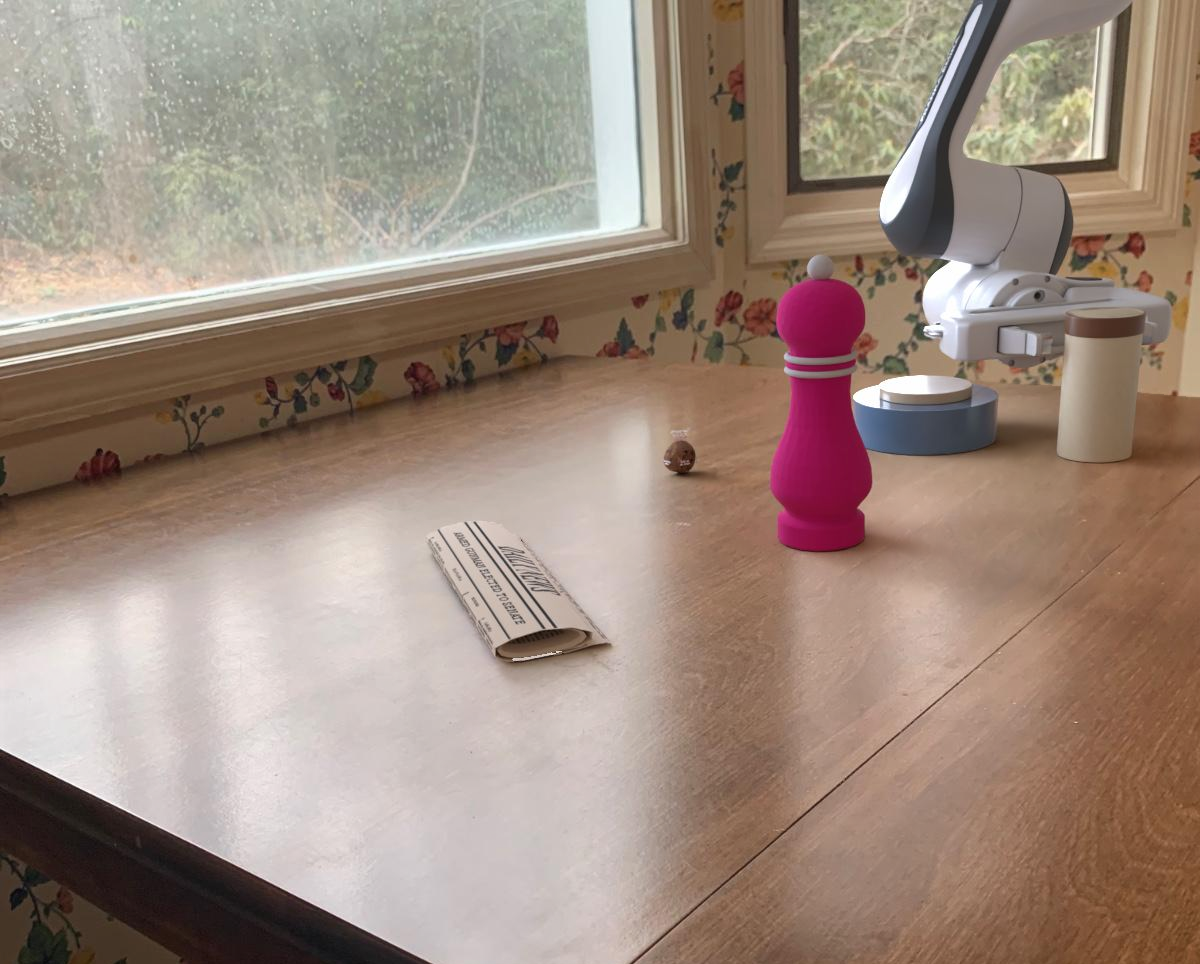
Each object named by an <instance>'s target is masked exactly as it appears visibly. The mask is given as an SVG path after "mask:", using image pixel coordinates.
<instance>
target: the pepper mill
mask: <svg viewBox="0 0 1200 964" xmlns="http://www.w3.org/2000/svg"><path fill="white" fill-rule="evenodd" d="M834 270H835V265H834V261H833V260H832V259H831V258H830V257H829V256H828V255H825V254H816V255H815V256H813V257H812V258H810V260H809V262H808V263H807V267H806V272H807V275H808V276H809V279H806V280H803V281H800V282H798V283H796V284H795V285H793V286H792V287H790V288H789V289H788V290H787V291H786V292H785V293H784V294H783V295H782V297H781V300H780V301H779V303H778V306H777V310H776V317H775V318H776V319H775V321H776V322H775V324H776V331H777V333H778V335H779V337H780V339H781V340H782V341H783V342H784V343H785V344H786V345H787V347H788V351H786V352H785V353H784V354H783V359H784V360H785V366H784V368H783V371H784V373H785V375H786V376H789V380H790V402H789V403H790V404H789V411H788V415H787V416H788V417H787V419H786V420H787V421H786V424H785V427H784V430H783V432H782V436H781V438H780V440H779V443H778V445H777V448H776V450H775V452H774V455H773V459H772V463H771V467H770V479H769V489H770V491H771V495H773V498H775V499H776V501H777V502H779V504H780V505H781V506H782V507H783V508H784V509H782V510H781V511H780V512H779V513H778V515H777V518H776V520H777V523H776V524H777V525H776V526H777V539H778V541H779V542H780V543H781V544H783V545H784V546H786V547H788V548H792V549H796V550H800V551H808V552H809V551H810V552H830V551H839V550H844V549H845V550H846V549H849V548H851V547H854V546H857V545H859V544H860V543H862V542H863V540H864V539H865V535H866V516H865V515H866V514H865V513H864V512H863V510H861V509H859V508H858V507H859V506H860V505H861V504H862V503H863V502H864V500H866V498H867V497H868V496H869V494H870V492H871V491H872V488H873V470H872V469H873V468H872V464H871V461H870V456H869V452H868V451H867V448H865V445H864V443H863V441H862V438H861V436H860V434H859V431H858V429H857V426H856V423H855V420H854V416H853V405H852V395H851V389H852V388H851V387H852V386H851V385H852V376H853V375H852V374H854V373H856V372H857V370H858V367H859V366H858V365H857V357H858V356H859V354H858V351H857V350H856V349H855V348H853V346H854V344H855V343H856V342H857V340H858V339H859V337H860V336H861V335H862V333H863V332H864V329H865V326H866V308H865V303H864V301H863V297H862V295H861V294H860V293H859V291H858V290H857V289H856V288H855V287H854V286H853V285H851V284H850V283H847V282H846V281H844V280H841V279H837V278H832V276H833V274H834Z"/></svg>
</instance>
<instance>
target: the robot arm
mask: <svg viewBox="0 0 1200 964" xmlns="http://www.w3.org/2000/svg"><path fill="white" fill-rule="evenodd" d="M1134 1H1135V0H973V2H972V3H971V6H970V7H969V10H968V11H967V13H966V15H965V17H964V19H963V20H962V21H963V22H962V24H961V25H960V28H959V29H958V32H957V35H956V37H955V39H954V41H953V43H952V45H951V47H950V50H949V52H948V53H947V56H946V57H945V58H946V59H945V61H944V63H943V65H942V68H941V70H940V72H939V75H938V77H937V79H936V81H935V84H934V86H933V89H932V90H931V93H930V95H929V97H928V99H927V101H926V103H925V106H924V109H923V111H922V113H921V115H920V117H919V119H918V122H917V124H916V126H915V129H914V131H913V133H912V134H911V136H910V139H909V141H908V142H907V144H906V147H905V148H904V150H903V152H902V153H901V156H900V157H899V159H898V161H897V162H896V164H895V165H894V168H893V169H892V172H891V173H890V175H889V177H888V180H887V181H886V184H885V186H884V189H883V193H882V195H881V198H880V202H879V207H878V209H879V210H878V222H879V224H880V226H881V229H882V231H883V233H884V234H885V236H886V238H887V240H888V241H889V242H890V244H891V245H892V246H893V248H894V249H895V250H896V252H898V253H899V254H900V255H901V256H904V257H911V258H921V259H931V260H939V259H940V260H945V261H946V260H947V261H949V262H948V263H947V264H945V265H944V266H943V267H941V268H940V269H938V270H937V271H936V272H934V274H933V275H932V276H931V277H930V278H929V279H928V280H927V283H926V285H925V287H924V290H923V293H922V309H923V313H924V317H925V319H926V321H927V323H928V325H926V326H924V329H923V334H924V337H928V338H930V339H933V340H939V350H940V351H941V353H943V354H944V355H945V356H947V357H949V358H950V359H952V360H954V361H958V362H966V363H967V362H968V363H969V362H980V361H988V360H990V361H993V362H996V363H999V364H1002V365H1005V366H1008V367H1011V368H1015V369H1029V368H1034V367H1036V366H1039V365H1041V364H1043V363H1046V362H1047V361H1051V360H1056V359H1058V358H1062V357H1063V356H1064V342H1065V333H1064V324H1065V313H1066V312H1068V311H1071V310H1075V309H1082V308H1093V307H1125V308H1135V309H1140V310H1143V311H1145V312H1146V320H1145V331H1144V333H1143V338H1142V346H1150V345H1151V346H1152V345H1155V344H1162V343H1164V342H1166V341H1167V339H1168V338H1169V336H1170V333H1171V327H1172V314H1173V309H1172V304H1171V301H1169V300H1168V299H1167V298H1165V297H1162V296H1159V295H1155V294H1152V293H1148V292H1145V291H1142V290H1138V289H1134V288H1128V287H1122V286H1116V282H1115V280H1114V279H1112V278H1108V277H1097V276H1089V277H1087V276H1085V277H1084V276H1083V277H1082V276H1081V277H1080V276H1079V277H1077V276H1065V277H1063V276H1060V275H1057V274H1058V273H1059V271H1060V269H1061V267H1062V265H1063V263H1064V261H1065V258H1066V256H1067V253H1068V251H1069V247H1070V245H1071V240H1072V236H1073V231H1074V223H1075V222H1074V214H1073V208H1072V204H1071V200H1070V197H1069V194H1068V192H1067V189H1066V187H1065V186H1064V184H1063V183H1062V181H1061V180H1060V179H1059V178H1058V177H1057V176H1056V175H1051V174H1047V173H1042V172H1038V171H1034V170H1032V169H1031V170H1030V169H1026V168H1021V167H1017V166H1009V165H1003V164H999V163H996V162H995V163H994V162H990V161H986V160H982V159H976V158H972V157H968V156H966V155H964V152H963V150H964V149H963V148H964V144H965V142H966V139H967V138H968V135H969V133H970V131H971V129H972V126H973V125H974V123H975V119H976V118H977V115H978V113H979V111H980V108H981V107H982V104H983V102H984V99H985V97H986V95H987V93H988V91H989V89H990V86H991V84H992V82H993V80H994V77H995V75H996V73H997V72H998V70H999V68H1000V67H1001V65H1002V64H1003V62H1004V61H1005V60H1006V59H1007V58H1008V57H1009V56H1010V55H1011V54H1013V53H1014V52H1016V51H1017V50H1019V49H1020V48H1022V47H1024V46H1027V45H1029V44H1032V43H1036V42H1040V41H1045V40H1051V39H1056V38H1061V37H1066V36H1072V35H1077V34H1081V33H1085V32H1088V31H1091V30H1094V29H1097V28H1099V27H1101V26H1104V25H1105V24H1107V23H1109V22H1111V21H1112V20H1114V19H1115V18H1116V17H1118V16H1119V15H1120V14H1122V13H1123V12H1124V11H1125V10H1126V9H1127V8H1128V7H1129V6H1130V5H1131V4H1132V3H1133V2H1134Z"/></svg>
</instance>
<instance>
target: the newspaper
mask: <svg viewBox="0 0 1200 964" xmlns="http://www.w3.org/2000/svg"><path fill="white" fill-rule="evenodd" d="M516 534H517V533H510V532H509V531H508V529H506V527H505V526H504V524H501V523H498V522H493V521H489V520H473V521H472V520H471V521H460V522H457V523H453V524H449V525H446V526H443V527H439V528H436V529H435V530H433V531H431V532H429V533H428V534H425V543H426V545H427V547H428V549H429V550H430V551H431V553H432V555H433V556H434V558H435V560H436V562H437V563H438V565H439V567H440V568H441V570H442V572H443V573H444V575H445V576H446V578H447V580H448V582H449V583H450V585H451V586H452V588H453V590H454V592H455V593H456V595H457V596H458V598H459V600H460V602H461V603H462V605H463V606H464V608H465V610H466V611H467V613H468V616H470V618H471V620H472V622H473V623H474V625H475V627H476V629H477V631H478V632H479V633H480V635H481V636H482V638H483V640H484V641H485V643H486V645H487V646H488V648H489V650H490V651H491V653H492V655H493V656H494V658H496V659H498V660H500V661H502V662H507V663H508V662H510V663H511V662H512V663H514V661H513V660H512V659H513V658H524V657H531V656H537V655H542V654H547V653H551V652H552V653H556V651H562V652H559V653H556V654H554V656H559V655H563V654H562V653H564V654H567V653H572V652H574V651H577V650H581V649H584V648H587V647H591V646H595V645H601V644H602V645H603V644H610V645H611V644H612V642H611V641H610V640H609V639H608V638H607V637H606V636H605V635H604V633H603V632H602V631H601V630H600V629H599V628H598V626H597V625H596V624H595V623H594V622H593V621H592V619H591V618H590V617H589V616H588V615H587V613H586V612H585V611H584V610H583V609H582V608H581V606H579V604H578V603H577V602H576V600H575V599H574V598H572V596H571V595H570V593H568V591H567V590H566V589H565V588H564V587H563V586H562V584H560V581H558V580H557V579H556V577H555V576H554V575H553V574H552V573H551V572H550V571H549V570H548V568H547V567H546V566H545V564H543V562H542V561H541V560H540V559H539V558H538V556H537V555H536V554H535V553H534V554H535V555H534V554H532V552H533V551H532V550H531V549H530V548H529V549H530V550H531V551H532V552H531V551H530V550H529V549H528V548H527V547H526V546H525V544H526V543H525V542H524V541H523V542H524V543H525V544H524V543H523V542H522V541H521V540H520V539H519V537H520V536H519V537H517V535H518V534H517V535H516ZM537 558H538V559H539V560H540V561H541V562H542V563H541V562H540V561H539V560H538V559H537ZM553 576H554V577H553Z"/></svg>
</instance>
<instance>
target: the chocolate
mask: <svg viewBox="0 0 1200 964" xmlns="http://www.w3.org/2000/svg"><path fill="white" fill-rule="evenodd" d="M690 431H691V429H690V427H687V428H686V429H682V430H680V429H678V430H673V429H672V430H670V431H669V435H672V437H673V438H674V442H672V443H671V444H670V445H669V446H668V448H667V449H666V450H665V453H664V455H663V460H662V461H663V465H664V467H665V468H666V469H668V470H669V471H670V472H674V473H678V474H682V473H683V474H684V473H687V472H690V471H691V470H692V469H693V468H694V465H695V463H696V462H697V463H699V457H698V456H696V451H695V448H694V447H693V445H692V444H691V443H690V442H689V441H687V440H686V438H687V437H688V433H689V432H690Z"/></svg>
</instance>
